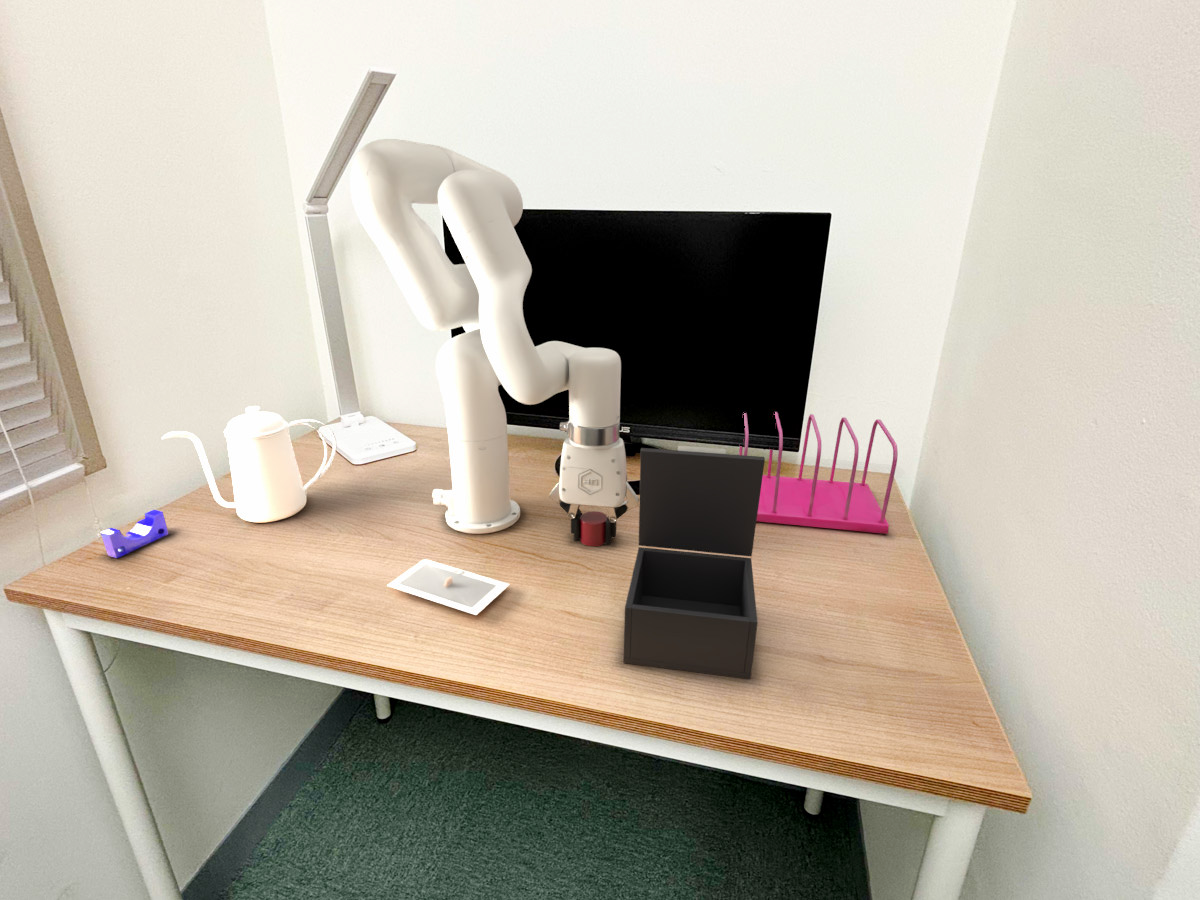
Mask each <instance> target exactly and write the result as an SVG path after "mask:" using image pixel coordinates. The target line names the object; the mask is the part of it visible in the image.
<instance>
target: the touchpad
mask: <svg viewBox="0 0 1200 900" xmlns="http://www.w3.org/2000/svg"><path fill="white" fill-rule="evenodd" d="M510 585H511V584H510V583H508V582H504V581H501V580H498V579H494V578H491V577H488V576H484V575H481V574H478V573H474V572H470V571H468V570H463V569H461V568H458V567H454V566H451V565H447V564H444V563H441V562H439V561H438V562H437V561H434V560H431V559H427V558H423V559H422V560H420V561H418V562H417V563H416V564H414V565H413V566H412V567H410V568H409V569H408V570H406V571H405V572H403V573H401V574H400V575H399V576H397V577H396V578H395V579H393V580H392V581H391V582H389V583H388V584H386V587H388V588H392V589H395V590H398V591H400V592H404V593H407V594H410V595H413V596H416V597H419V598H422V599H425V600H429V601H431V602H434V603H437V604H439V605H443V606H447V607H449V608H452V609H455V610H458V611H460V612H461V611H462V612H464V613H467V614H471V615H474V616H477V615H478V614H480V613H481V612H483V610H484V609H485V608H486V607H487V606H488V605H489V604H491V603H492V602H493V601H494V600H495V599H496V598H497V597H498V596H499V595H501V594H502V593H503V592H504V591H505V590H506V589H507V588H508V587H509V586H510Z"/></svg>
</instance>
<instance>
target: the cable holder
mask: <svg viewBox="0 0 1200 900" xmlns="http://www.w3.org/2000/svg"><path fill="white" fill-rule="evenodd" d="M169 533H170V532H169V529H168V526H167V521H166V519H165V515H164V512H163V511H160V510H157V509H152V510H150V511H147V512H146V513H144V518H143V519H140V520H138V521H137V522H136V523H135V525H134V527H133V528H131V529H130V530H129V531H127V532H126V533H125V534H126V536H125V535H124V534H123V533H122V531H121V529H118V528H117V529H116V528H113V527H110V528H107V529H105V530H101V531H100V536H101V538H102V541H103V545H104V548H105V551H106V554H107V556H108V557H110V558H114V559H118V558H121V557H123V556H125V555H128V554H130V553H131V552H134V551H136V550H138V549H140V548H142V547H144V546H147V545H148V544H151V543H153V542H155V541H157V540H160V539H162V538H163V537H166V536H168V535H169Z"/></svg>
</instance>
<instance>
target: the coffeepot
mask: <svg viewBox="0 0 1200 900" xmlns="http://www.w3.org/2000/svg"><path fill="white" fill-rule="evenodd" d="M309 423H317V424H319V425H323V426H324V427H326V428H327V429H328V431H329V433H330V435H331V437H332V451H331V455H330V457H329V460H328V455H329V451H328V445H327V441H326V439H325V437H324V435H323V434H322V433H321V431H319V430H318V429H317V428H316V427H314V426H313V425H311V424H309ZM297 425H298V426H299V425H300V426H306V427H309V428H312V429H314V430H315V431H316V432H317V433H318V435H319V436H320V438H321V440H322V444H323V449H324V454H323V455H324V456H323V460H322V463H321V465H320V467H319V469H318V470H317V472H316V474H315V475H314V476H313V477H312V478H311V479H309V480H308V481H307V483H306V484H303V480H302V477H301V473H300V469H299V466H298V462H297V458H296V454H295V451H294V447H293V443H292V440H291V431H290V427H294V426H297ZM223 433H224V437H225V438H226V442H227V443H226V445H227V451H228V457H229V466H230V473H231V480H232V487H233V495H234V496H233V497H234V502H228V501H225V500H224V499H223V498H222V496H221V495H220V492H219V490H218V487H217V485H216V481H215V478H214V475H213V472H212V470H211V467H210V464H209V461H208V458H207V455H206V451H205V450H204V447H203V444H202V441H201V440H200V439H199V437H198V436H197V435H195V434H194V433H192V432H189V431H184V430H181V431H180V430H177V431H170V432H167V433H166V434H164V435H163V436H162V437H161V440H164V439H171V438H172V439H173V438H187V439H189V440H191V441H192V442H193V444H194V447H195V449H196V451H197V454H198V456H199V457H198V458H199V460H200V462H201V465H202V468H203V472H204V474H205V478H206V480H207V482H208V486H209V488H210V491H211V494H212V496H213V499H214V500H215V501H216V503H218V505H220V506H222V507H223V508H226V509H235V510H236V514H237V516H238V517H239V518H240V519H242V520H243V521H247V522H250V523H271V522H276V521H281V520H285V519H287V518H289V517H292V516H294V515H296V514H297V513H299V512H300V511H302V510H303V509H304V507H305V506H306V504H307V496H308V494H307V489H308V488H309V487H311V486H312V485H314V484H315V483H317V482H318V481H319V480H320V479H321V478H322V477H323V476H324V475H325V474H326V473H327V471H328V470H329V469H330V467H331V466H332V464H333V462H334V460H335V457H336V454H337V453H336V452H337V439H336V435H335V433H334V431H332V429H331V428H330V427H329V426H328V425H327V424H325V423H323V422H321V421H319V420H316V419H310V418H309V419H298V420H294V421H290V422H288V421H286V419H284V418H283V417H282V416H281V414H278V413H276V412H271V411H261V407H260V406H259V405H253V406H247V407H246V408H245V413H244V414H241V415H238V416H236V417H233V418H232V419H230V421H228V423H227V426H226V428H225V429H224V431H223Z"/></svg>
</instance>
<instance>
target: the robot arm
mask: <svg viewBox="0 0 1200 900" xmlns="http://www.w3.org/2000/svg"><path fill="white" fill-rule="evenodd" d="M350 169H351V170H350V174H349V175H350V176H349V189H350V195H351V200H352V204H353V207H354V209H355V213H356V215H357V216H358V218H359V221H360V223H361V224H362V226H363V227H364V229H365V231H366V232H367V234H368V236H369V237H370V238H371V240H372V241H373V243H374V244H375V246H376V247H377V249H378V251H379V252H380V253H381V256H382V257H383V259H384V260H385V262H386V264H387V266H388V268H389V270H390V273H391V274H392V276H393V278H394V279H395V281H396V283H397V285H398V287H399V288H400V290H401V292H402V294H403V295H404V297H405V299H406V301H407V303H408V305H409V306H410V308H411V310H412V312H413V314H414V316H415V317H416V318H417V321H419V323H420V324H421V325H422V326H423V327H425V328H426V329H427V330H429V331H433V332H445V331H449V330H454V329H457V328H461V327H462V328H463V330H464V331H465V332H463V333H461V334H458V335H455V336H453V337H452V338H449V340H447V341H446V342H445V343H444V344H443V345H442V346H441V347H440V349H439V351H438V353H437V356H436V358H435V359H436V360H435V373H436V377H437V381H438V385H439V388H440V393H441V395H442V399H443V403H444V410H445V419H446V420H445V421H446V428H447V430H446V431H447V438H448V449H449V450H448V451H449V462H450V474H451V475H450V476H451V485H452V486H451V487H452V488H451V489H442V488H434V489H432V493H431V498H432V505H434V506H439V507H440V506H445V507H446V508H447V509H446V511H445V514H444V515H445V523H446V524H447V526H449V527H450V528H451V529H452V530H455V531H457V532H460V533H465V534H473V535H474V534H475V535H476V534H477V535H478V534H479V535H482V534H483V535H484V534H490V533H496V532H500V531H503V530H506V529H508V528H509V527H511V526H513V525H514V524H516V523H517V522H518V520H519V519H520V517H521V507H520V505H519V504H518V503H517V501H515V500H514V499H511V483H510V459H509V458H510V457H509V438H508V422H507V421H508V420H507V413H506V408H505V405H504V403H503V400H502V398H501V396H500V392H499V386H502V388H503V389H504V390H505V391H506V392H507V394H508V395H509V396H510V397H511V398H512V399H514V400H515V401H517V402H518V403H521V404H523V405H529V406H531V405H537V404H540V403H543V402H544V401H546V400H548V399H550V398H552V397H553V396H555V395H556V394H558V393H561V392H564V391H567V390H568V406H569V407H568V410H569V411H568V415H569V417H568V418H569V419H568V420H567V421H561V422H560V423H559V431H560V432H564V433H566V434H567V436H566V438H565V439H564V441H563V444H562V449H561V457H560V466H559V480H558V481H557V483H556V485H554V487H552V489H551V490H550V492H549V494H548V498H549V499H550V500H552V501H553V502H555V503H556V504H558V505H559V506H560V507H561V508H562V510H563V511H564V512H565V513H566V514H567V517H568V518H569V519H570V534H572V535H573V541H574V542H578V541H579V542H580V516H581V515H582V514H583V512H582V510H581V509H580V507H581V506H586V507H597V508H605V509H606V512H607V520H606V528H605V544H606V545H611V542H612V540H613V538H616V535H617V523H618V522H617V521H618V519H619V518H620V517H622V516H623V515H624V514H626V513H627V512H628V511H630V510H632V509H634V508H636V507H637V506H639V504H640V497H639V496H638V495H637V494H636V492H635V491H634V489H633V488H632V486H631V485H630V484H629V482H628V468H627V467H628V465H627V455H626V454H627V453H626V448H625V442H624V440H623V438H621V437H620V424H621V421H620V420H621V387H622V386H621V385H622V384H621V379H622V360H621V356H620V355H619V353H618V352H617V351H615V350H613V349H610V348H605V347H583V346H579V345H575V344H572V343H568V342H564V341H559V340H551V341H546V342H543V343H541V344H538V345H536V346H535V344H534V342H533V339H532V338H531V336H530V333H529V330H528V328H527V324H526V321H525V317H524V309H523V307H524V305H523V304H524V303H523V302H524V296H525V292H526V289H527V286H528V285H529V283H530V280H531V277H532V273H533V268H532V264H531V261H530V259H529V257H528V255H527V254H526V251H525V249H524V246H523V244H522V243H521V240H520V238H519V236H518V234H517V232H516V229H515V227H516V225H517V224H518V223H519V221H520V219H521V218H522V214H523V213H524V212H523V211H524V210H523V209H524V202H523V198H522V193H521V192H520V189H519V187H518V186H517V184H516V183H515V182H514V181H513V180H512V179H511V178H510V177H509V176H508V175H507V174H504V173H502V172H500V171H498V170H496V169H494V168H491V167H489V166H487V165H484V164H482V163H480V162H479V161H476V160H474V159H472V158H469V157H467V156H465V155H462V154H461V153H458V152H456V151H454V150H452V149H449V148H446V147H443V146H440V145H435V144H429V143H424V142H416V141H413V140H405V139H398V138H395V139H394V138H382V139H377V140H372V141H370V142H367V143H366V144H365V145H363V146H362V147H361V148H360V149H359V150H358V151H357V153H356V155H355V156H354V159H353V161H352V165H351V168H350ZM413 205H435V206H438V207H439V211H440V213H441V215H442V218H443V220H444V222H445V223H446V226H447V227H448V230H449V231H450V234H451V237H452V238H453V240H454V243H455V245H456V246H457V249H458V251H459V252H460V254H461V257H462V260H463V261H464V263H459V264H454V263H453V262H452V261H451V260H450V259H449V257H448V255H447V253H446V252H445V250H444V249H443V246H442V245H441V242H440V240H439V238H438V237H437V235H436V233H435V232H434V231H433V229H432V228H431V227H430V226H429V224H428V223H427V222H426V220H424V219H423V218H422V217H421V216H420V215H419V214H418V213H417V212H416V211H415V209H414V208H413Z"/></svg>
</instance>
